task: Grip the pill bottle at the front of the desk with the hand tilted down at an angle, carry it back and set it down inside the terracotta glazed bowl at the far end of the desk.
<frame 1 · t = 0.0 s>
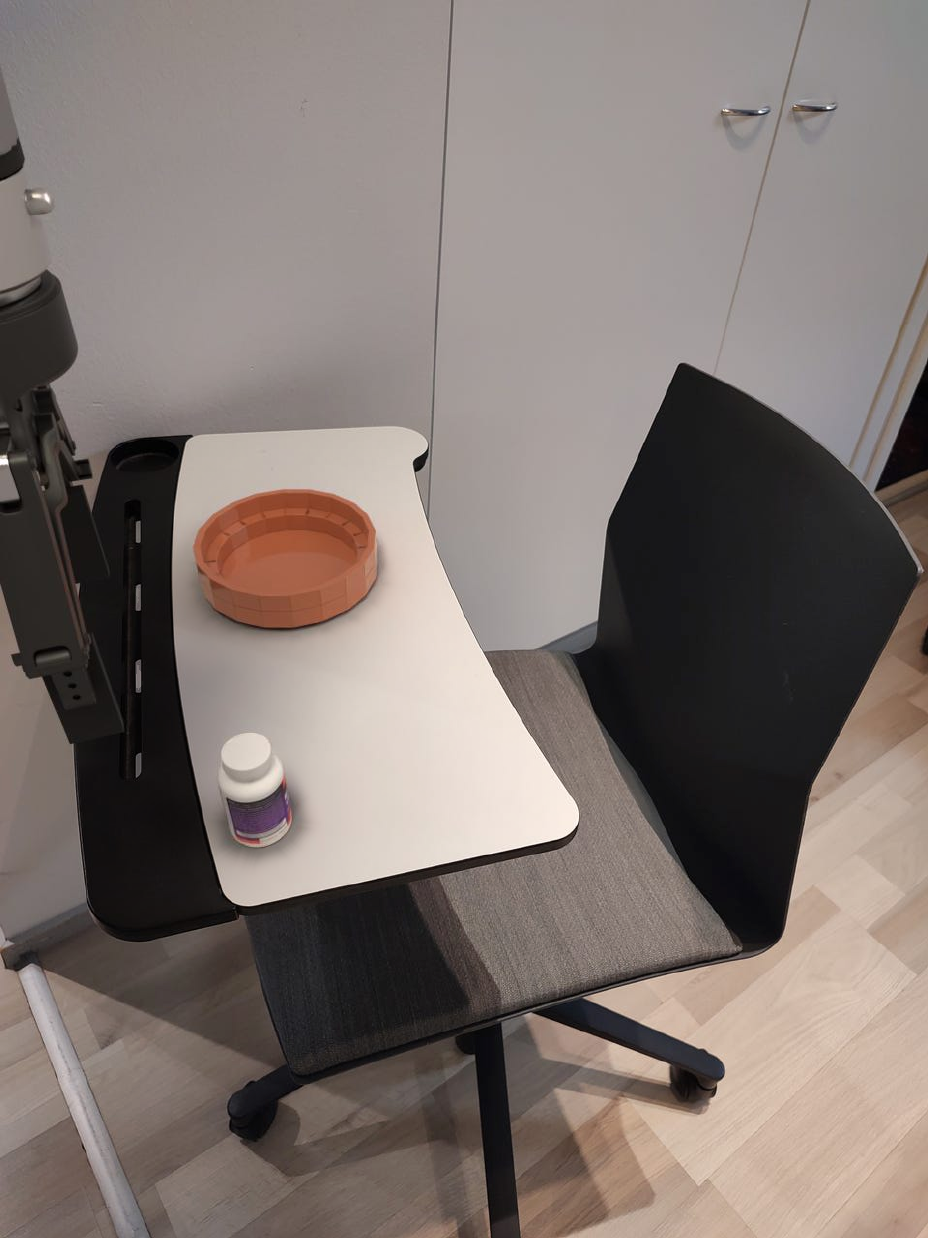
hand: (92, 649, 51), 20 cm above the table, tool pointing down, fingers open, 13 cm apart
pill bottle: (261, 824, 67), on the table
bowl: (290, 574, 89), on the table
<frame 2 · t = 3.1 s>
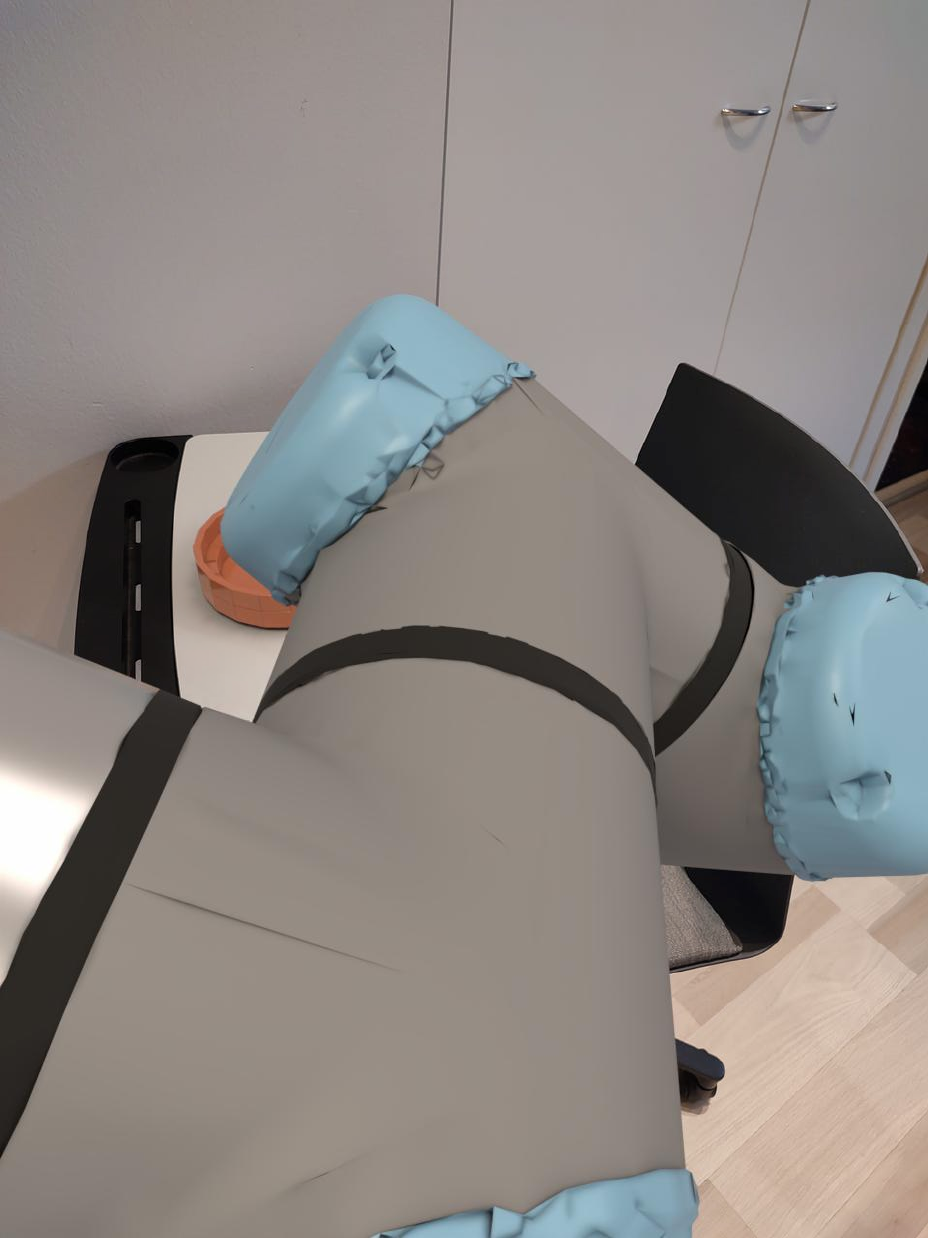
hand: (333, 779, 51), 15 cm above the table, tool tilted 45°, fingers open, 13 cm apart
nothing on the table moved.
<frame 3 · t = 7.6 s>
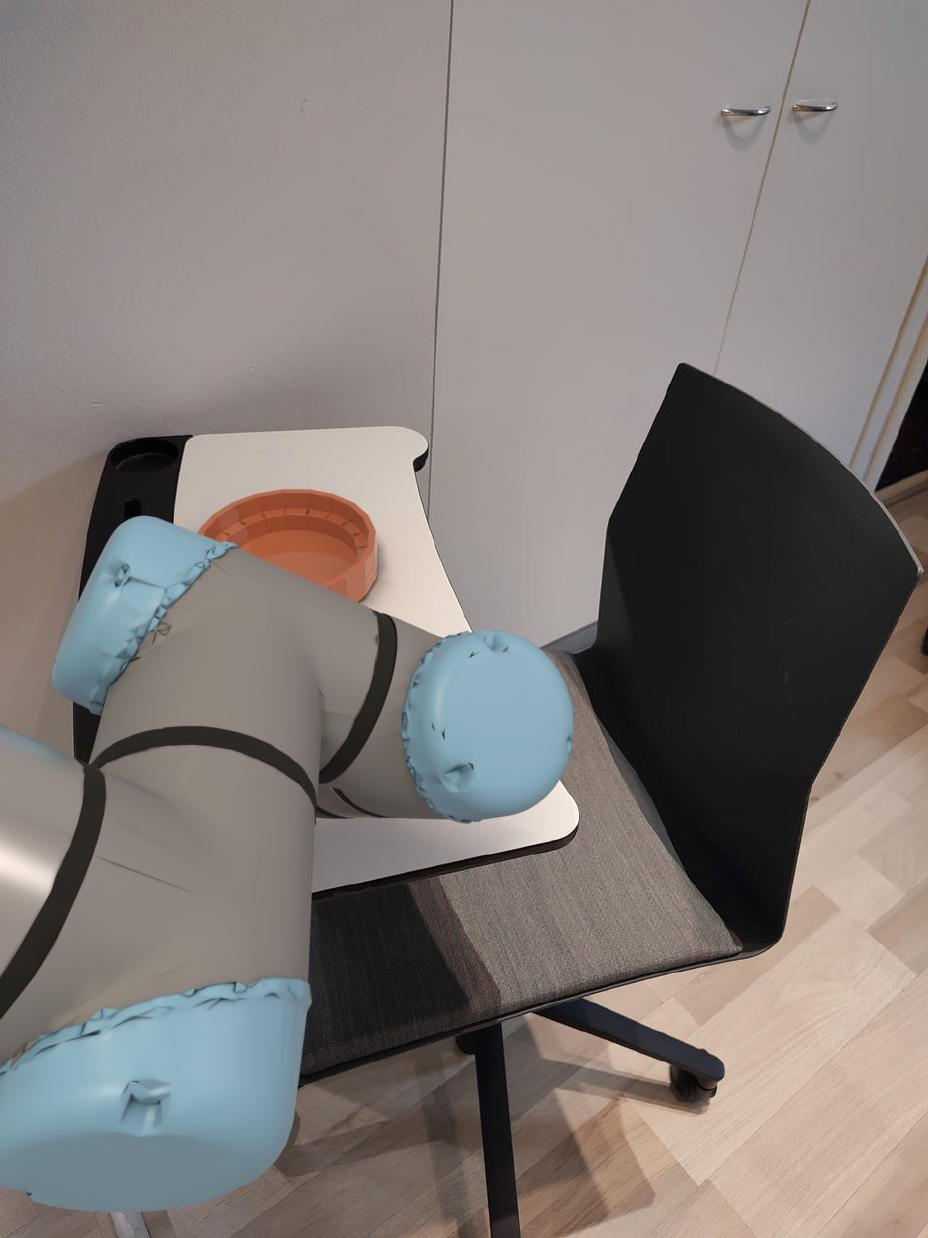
hand: (226, 767, 66), 3 cm above the table, tool tilted 45°, fingers closed on pill bottle, 5 cm apart
pill bottle: (261, 824, 67), on the table, touching gripper
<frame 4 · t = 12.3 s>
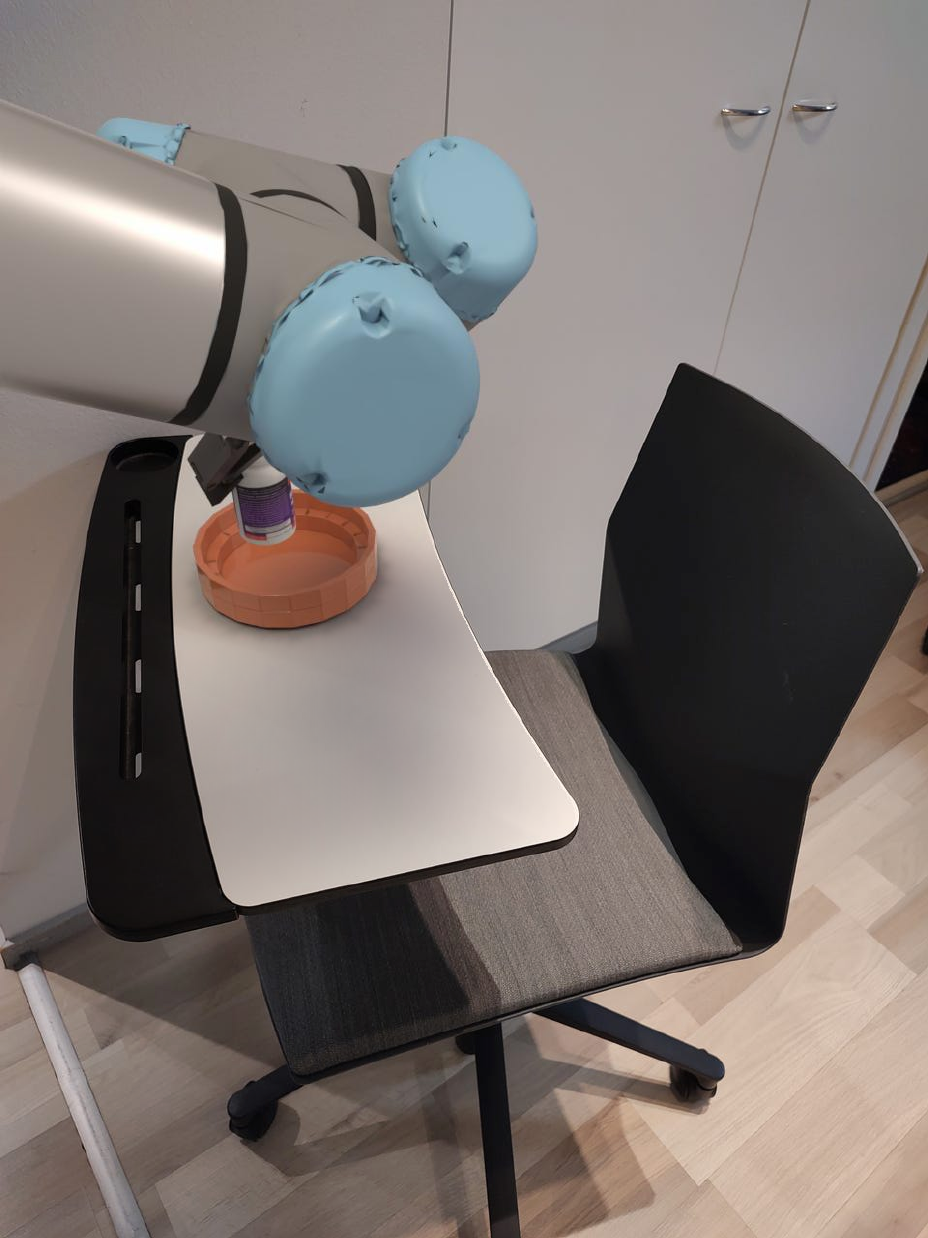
hand: (236, 477, 72), 16 cm above the table, tool tilted 45°, fingers closed on pill bottle, 5 cm apart
pill bottle: (268, 532, 72), point 13 cm above the table, touching gripper
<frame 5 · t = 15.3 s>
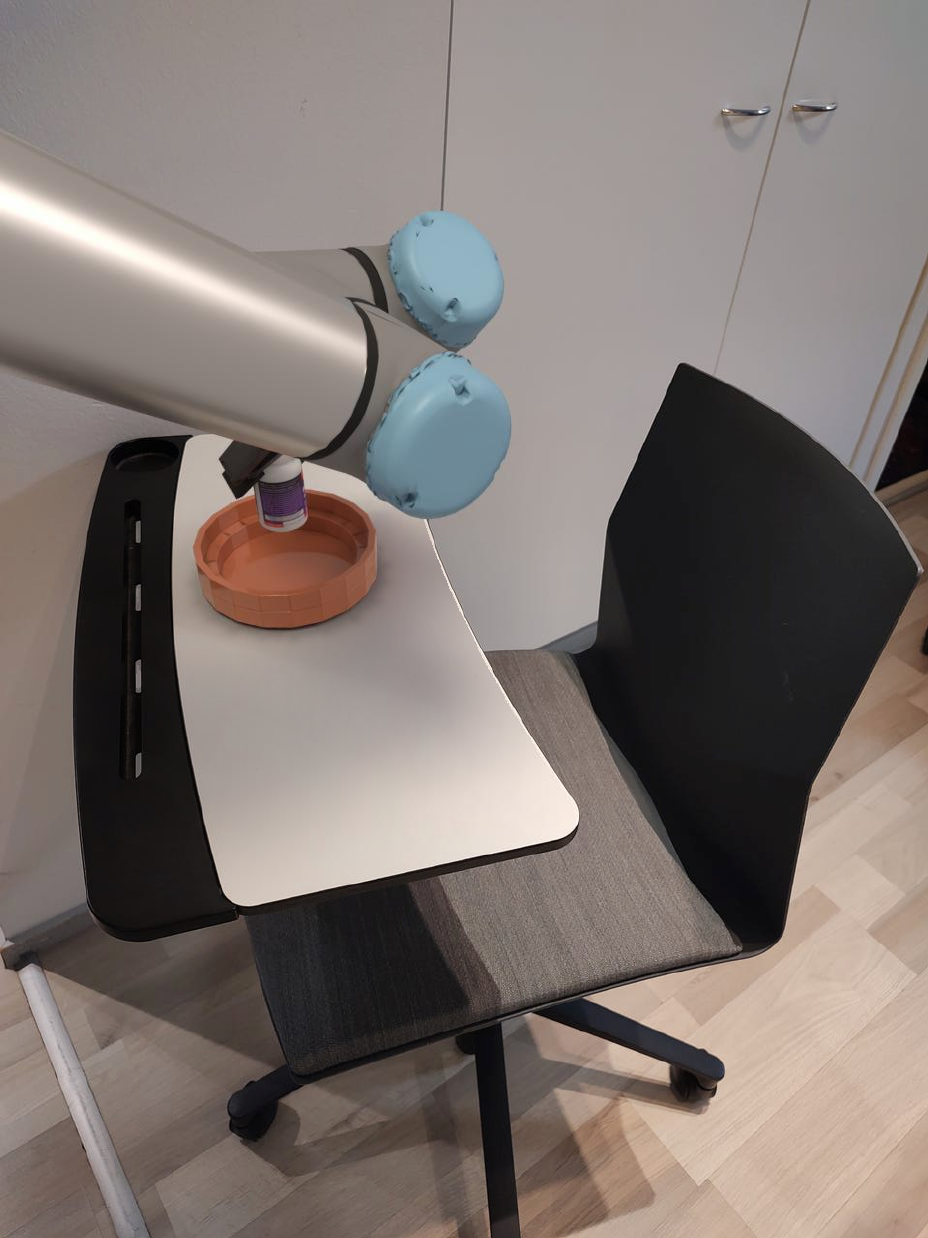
hand: (256, 474, 84), 10 cm above the table, tool tilted 45°, fingers closed on pill bottle, 5 cm apart
pill bottle: (284, 521, 85), point 7 cm above the table, touching gripper
when the fingers open (4 cm above the table, at t = 17.4 s): pill bottle stays where it is, resting on bowl.
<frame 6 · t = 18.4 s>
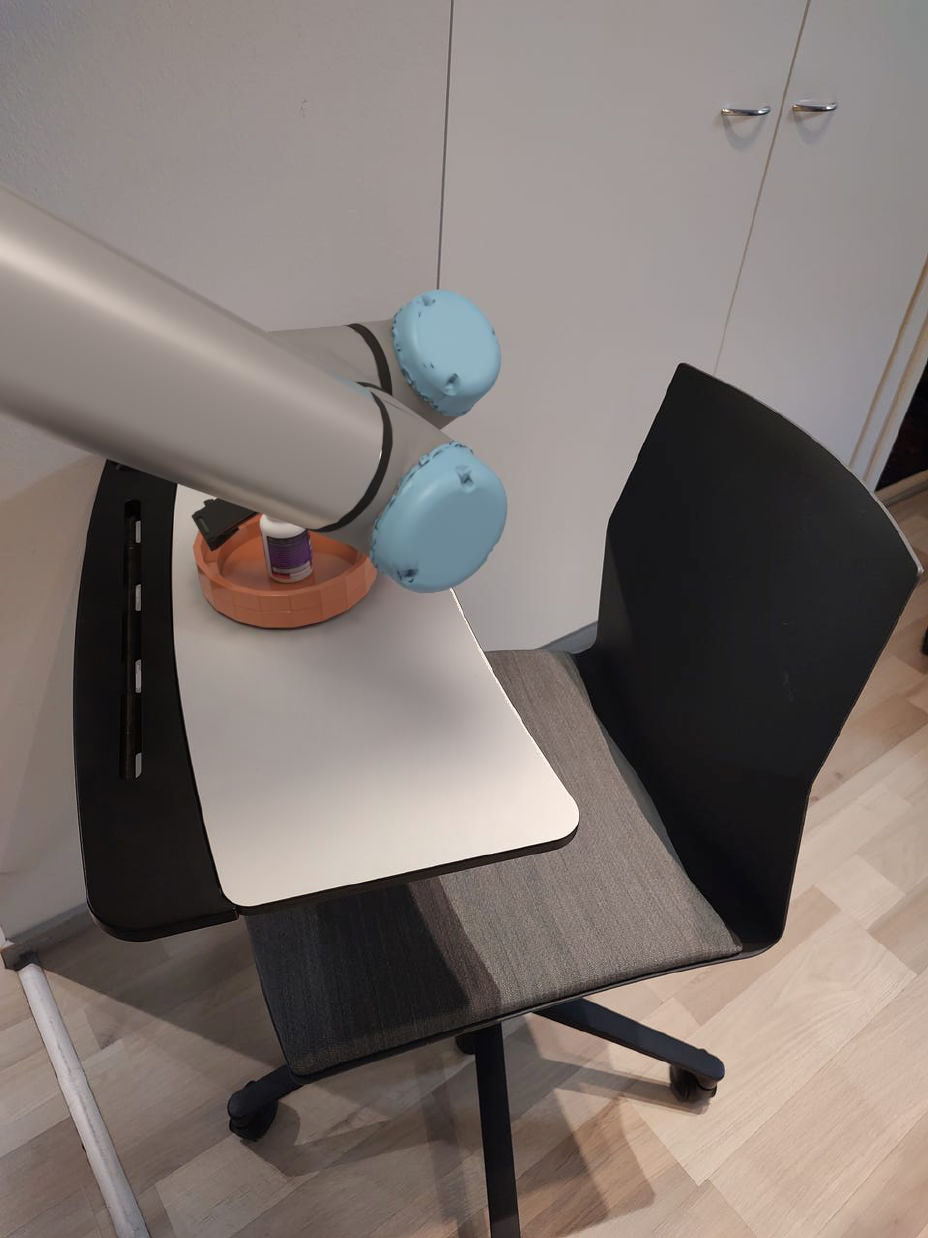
hand: (268, 509, 86), 7 cm above the table, tool tilted 45°, fingers open, 13 cm apart
pill bottle: (290, 571, 89), resting on bowl
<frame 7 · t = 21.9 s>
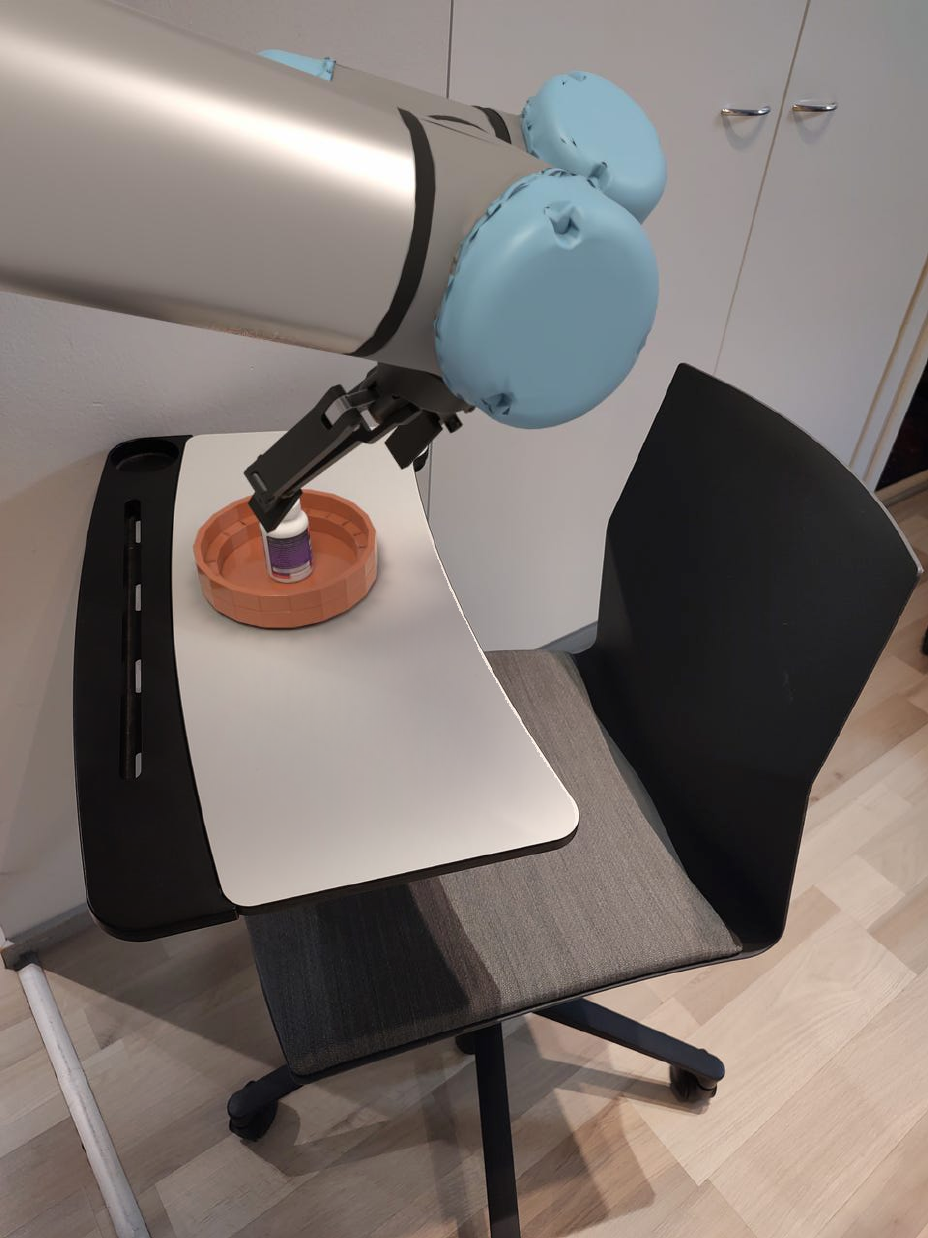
hand: (332, 484, 70), 17 cm above the table, tool tilted 40°, fingers open, 13 cm apart
nothing on the table moved.
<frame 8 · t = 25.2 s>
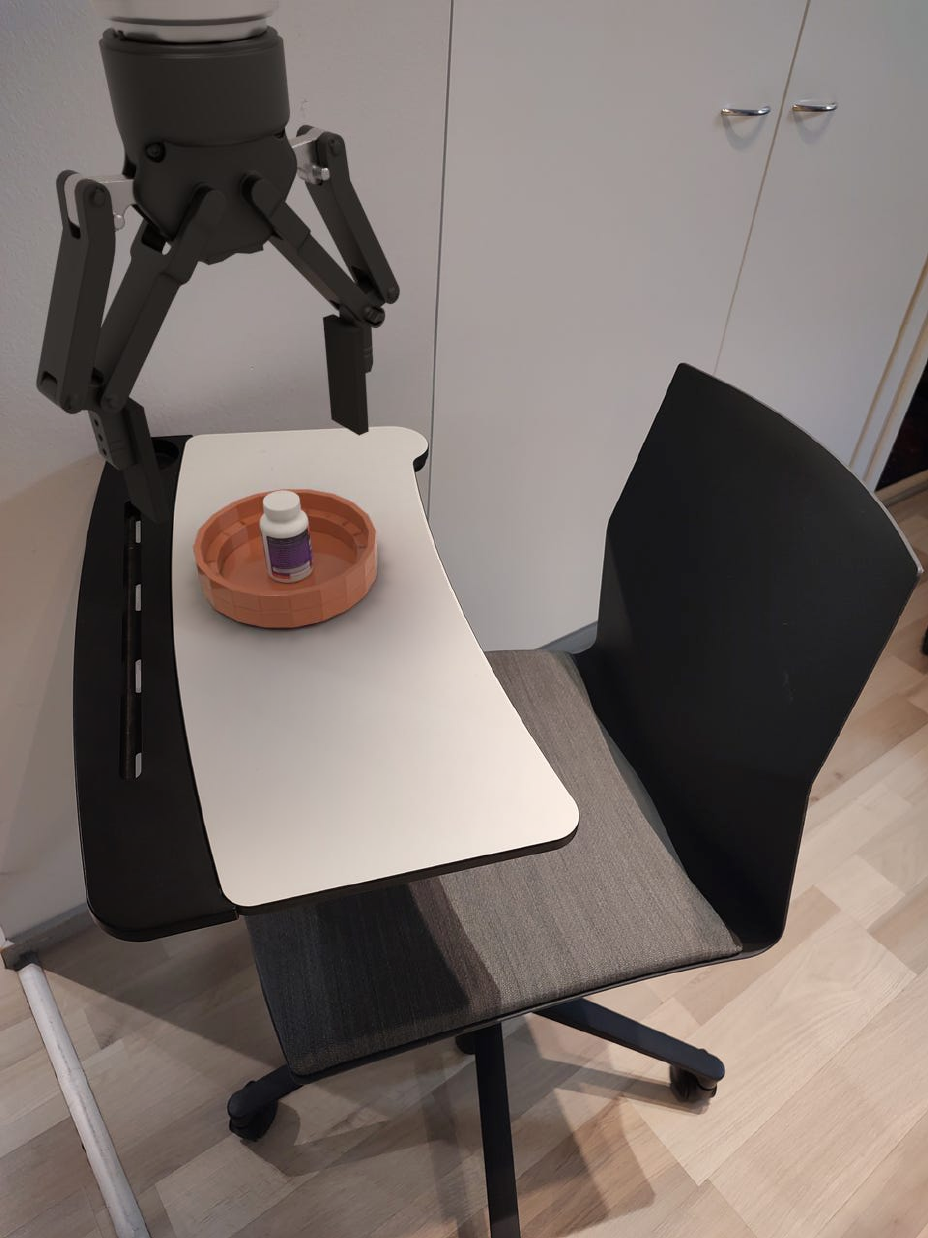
hand: (257, 465, 51), 29 cm above the table, tool pointing down, fingers open, 13 cm apart
nothing on the table moved.
at the end: pill bottle inside the target area in the bowl (0.1 cm from its centre), point 0.4 cm above the bowl's base; the gripper is holding nothing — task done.
